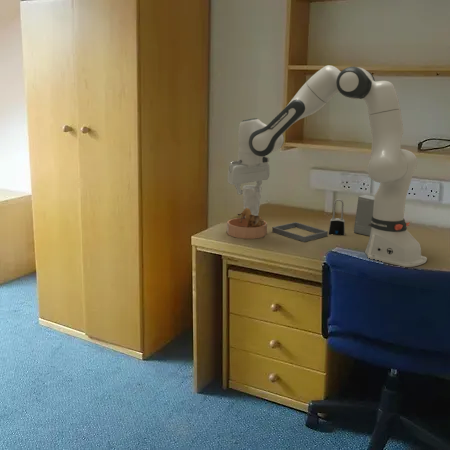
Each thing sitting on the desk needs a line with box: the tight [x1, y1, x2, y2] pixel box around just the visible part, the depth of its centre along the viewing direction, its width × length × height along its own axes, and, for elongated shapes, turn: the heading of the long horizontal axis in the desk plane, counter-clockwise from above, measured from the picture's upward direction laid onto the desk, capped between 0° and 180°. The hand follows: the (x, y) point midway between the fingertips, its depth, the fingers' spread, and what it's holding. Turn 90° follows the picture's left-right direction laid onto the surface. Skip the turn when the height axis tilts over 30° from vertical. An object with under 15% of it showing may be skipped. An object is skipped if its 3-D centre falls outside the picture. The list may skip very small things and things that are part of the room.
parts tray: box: [271, 221, 329, 243], centre depth 243 cm, size 18×14×2 cm
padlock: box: [328, 198, 346, 236], centre depth 242 cm, size 7×4×15 cm, turn 78°
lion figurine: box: [237, 208, 265, 228], centre depth 242 cm, size 15×5×9 cm, turn 36°
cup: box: [242, 184, 263, 216], centre depth 260 cm, size 8×8×16 cm
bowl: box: [226, 217, 268, 240], centre depth 242 cm, size 16×16×4 cm
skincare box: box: [353, 194, 375, 237], centre depth 244 cm, size 8×7×16 cm
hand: (248, 192), depth 238 cm, fingers open, 8 cm apart
